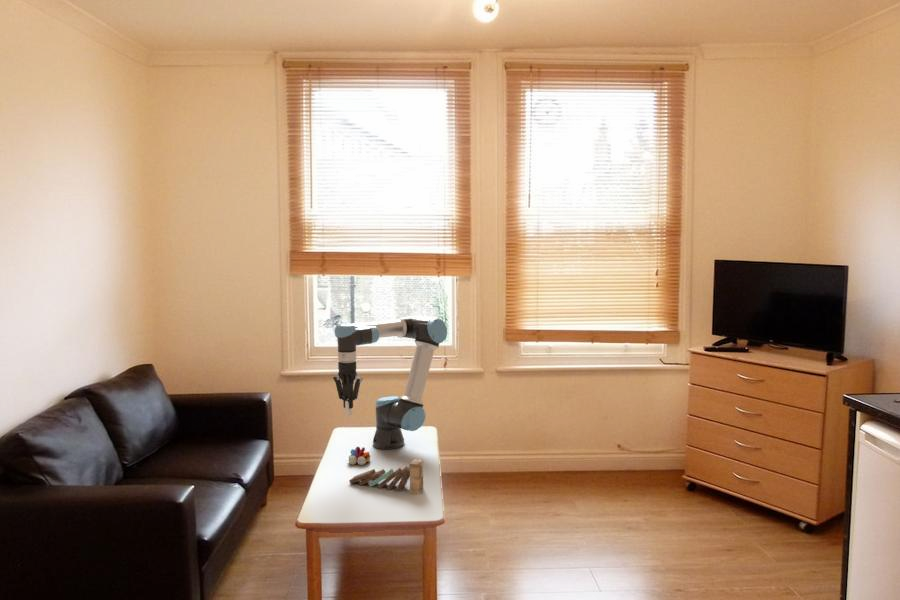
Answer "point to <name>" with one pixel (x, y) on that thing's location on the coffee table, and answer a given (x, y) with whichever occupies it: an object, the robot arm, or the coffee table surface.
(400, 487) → the domino
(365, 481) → the domino
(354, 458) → the colorful disc cluster
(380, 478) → the teal domino
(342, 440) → the coffee table surface
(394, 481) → the domino
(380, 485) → the domino
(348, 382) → the robot arm
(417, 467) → the end block
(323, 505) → the coffee table surface
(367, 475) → the domino
